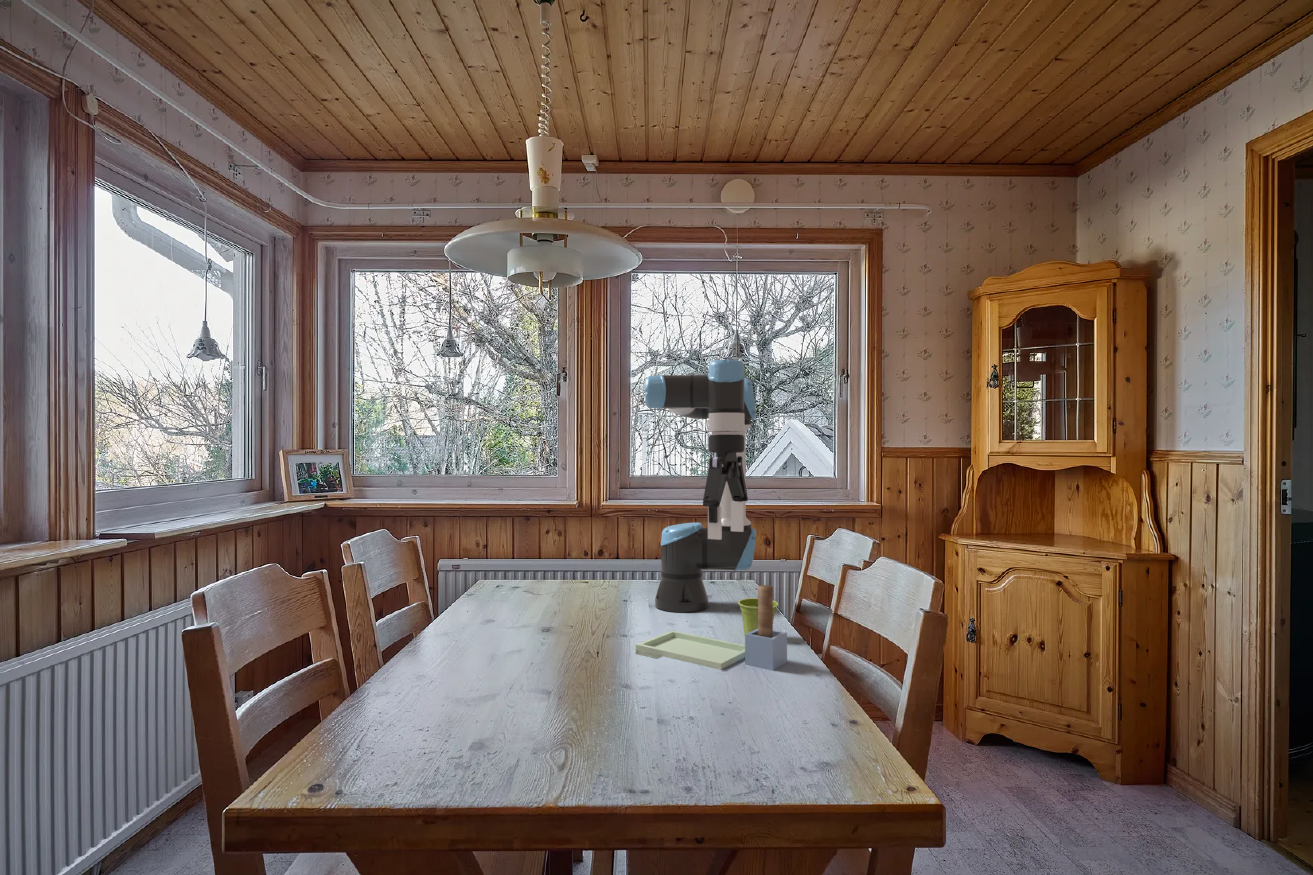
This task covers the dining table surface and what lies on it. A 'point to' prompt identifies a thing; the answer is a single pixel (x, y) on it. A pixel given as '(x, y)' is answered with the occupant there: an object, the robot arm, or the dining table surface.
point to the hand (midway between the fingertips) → (726, 535)
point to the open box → (766, 650)
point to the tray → (692, 649)
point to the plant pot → (751, 613)
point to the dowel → (765, 611)
